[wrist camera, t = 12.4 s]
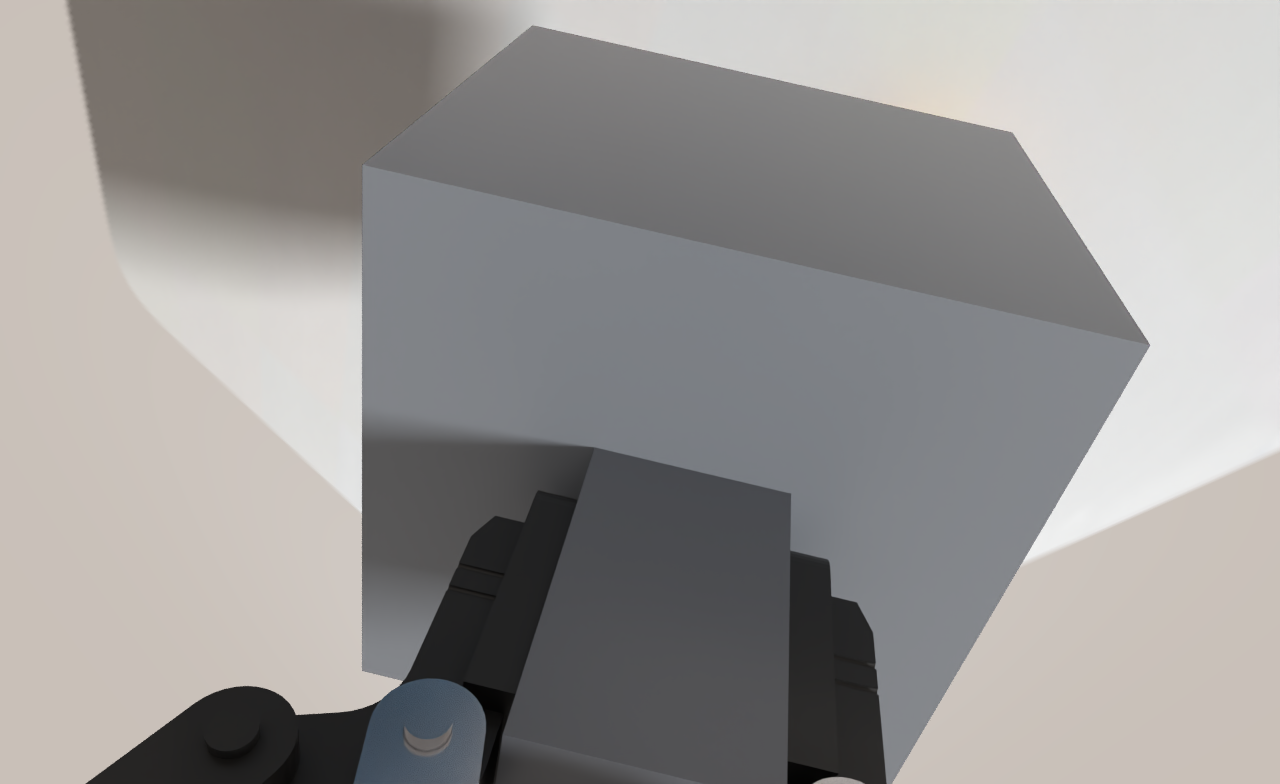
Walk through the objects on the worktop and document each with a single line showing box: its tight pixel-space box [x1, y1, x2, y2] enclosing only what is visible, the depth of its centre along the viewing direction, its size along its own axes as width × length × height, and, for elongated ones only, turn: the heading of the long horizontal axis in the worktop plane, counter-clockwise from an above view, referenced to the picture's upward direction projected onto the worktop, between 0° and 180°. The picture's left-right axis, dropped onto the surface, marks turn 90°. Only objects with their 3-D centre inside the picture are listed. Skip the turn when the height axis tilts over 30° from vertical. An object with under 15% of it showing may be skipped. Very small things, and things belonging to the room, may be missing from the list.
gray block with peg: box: [362, 25, 1150, 784], centre depth 16 cm, size 10×10×14 cm
